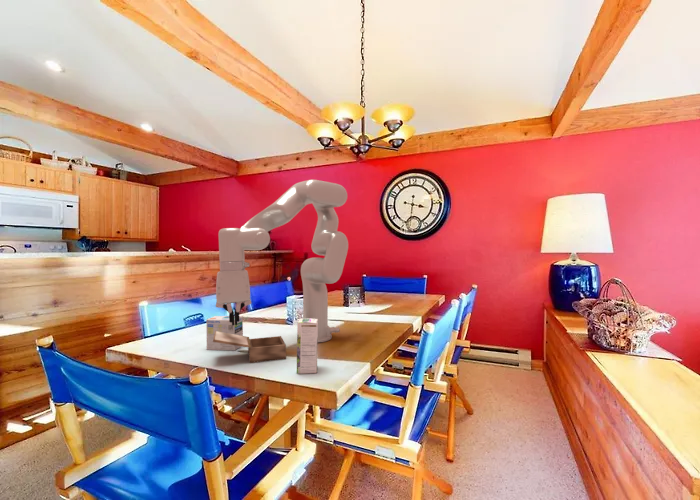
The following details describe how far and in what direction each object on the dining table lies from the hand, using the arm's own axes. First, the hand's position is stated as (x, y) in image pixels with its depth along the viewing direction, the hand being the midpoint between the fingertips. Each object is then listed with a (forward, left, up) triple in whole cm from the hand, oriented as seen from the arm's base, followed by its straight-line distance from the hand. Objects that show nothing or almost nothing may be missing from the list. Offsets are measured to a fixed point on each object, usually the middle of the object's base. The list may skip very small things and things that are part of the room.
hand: (234, 324), depth 103 cm
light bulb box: (+3, -14, -11) cm, 18 cm away
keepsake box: (-10, 0, -11) cm, 15 cm away
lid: (+1, 0, -4) cm, 4 cm away
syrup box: (-20, +17, -11) cm, 29 cm away
